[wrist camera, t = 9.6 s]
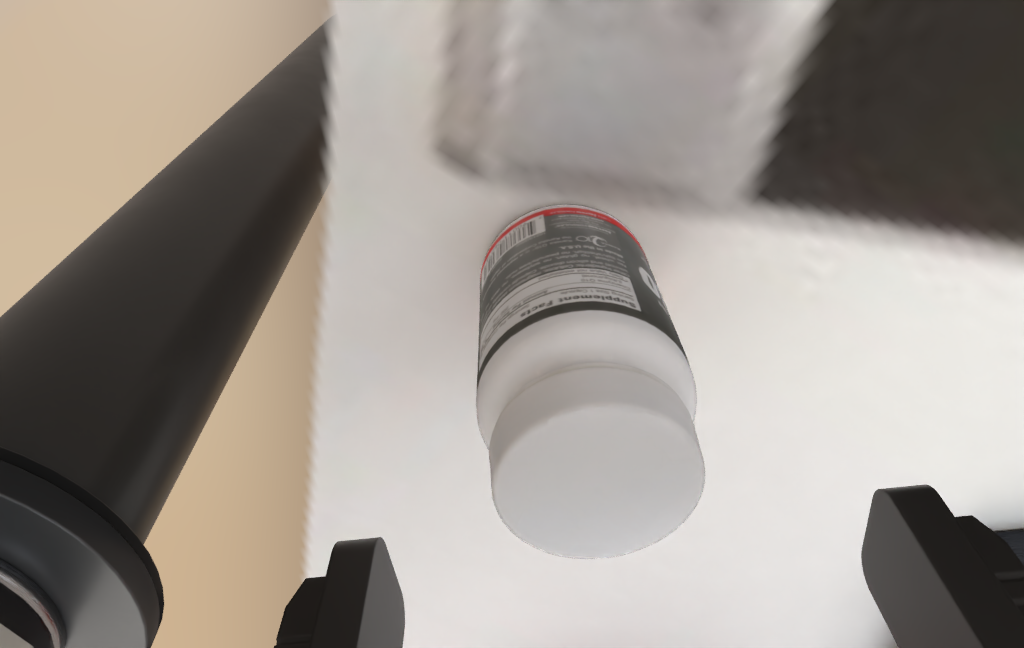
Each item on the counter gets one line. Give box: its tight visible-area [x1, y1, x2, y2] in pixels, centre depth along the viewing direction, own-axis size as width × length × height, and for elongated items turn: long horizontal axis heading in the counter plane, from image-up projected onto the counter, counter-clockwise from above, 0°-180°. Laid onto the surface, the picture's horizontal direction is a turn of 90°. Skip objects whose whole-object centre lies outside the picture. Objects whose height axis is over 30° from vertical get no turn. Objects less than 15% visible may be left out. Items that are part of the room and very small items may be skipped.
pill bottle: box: [476, 205, 705, 559], centre depth 17 cm, size 5×5×8 cm
